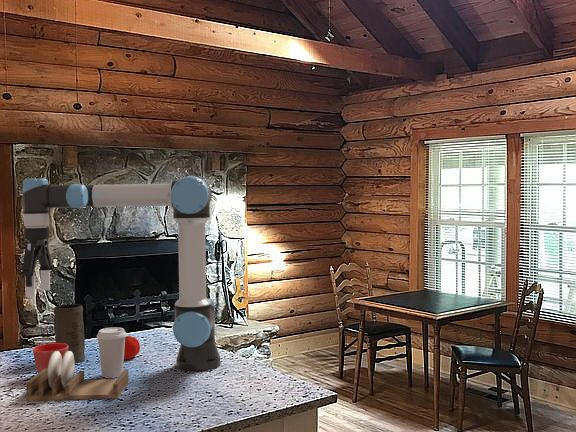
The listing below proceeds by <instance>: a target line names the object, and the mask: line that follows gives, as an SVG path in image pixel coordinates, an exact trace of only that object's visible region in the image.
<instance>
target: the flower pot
mask: <svg viewBox="0 0 576 432" xmlns="http://www.w3.org/2000/svg"><path fill="white" fill-rule="evenodd" d="M68 347H69V346H68V345H67V344H63V343H55V342H53V343H52V342H51V343H43V344H40V345H36V346H34V347H33V348H32V353H33V357H34V362H35V367H36V370H37V374H38V373H39V372H40V371H42V370H43V369H44V368H48V365H49V360H50V357H51V355H52V353H53V352H54V351H59V352H60V354H61V356H62V359H63V356H64V354H65V352H66V351H68Z"/></svg>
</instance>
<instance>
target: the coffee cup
mask: <svg viewBox="0 0 576 432" xmlns="http://www.w3.org/2000/svg"><path fill="white" fill-rule="evenodd" d="M126 336H128V335H127V332H126V330H125V328H123V327H105V328H102V329H99V331H98V333H97V335H96V339H97V341H98V343H97V344H98V350H99V351H98V352H99V358H100V368H101V375H102V376H101V377H102V378H103V377H105V378H104V379H117V378H118V377H119V376H120V375H121V374H122V372H123V371H124V362H125V361H124V360H125V359H124V348H125V337H126ZM116 377H117V378H116Z"/></svg>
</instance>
